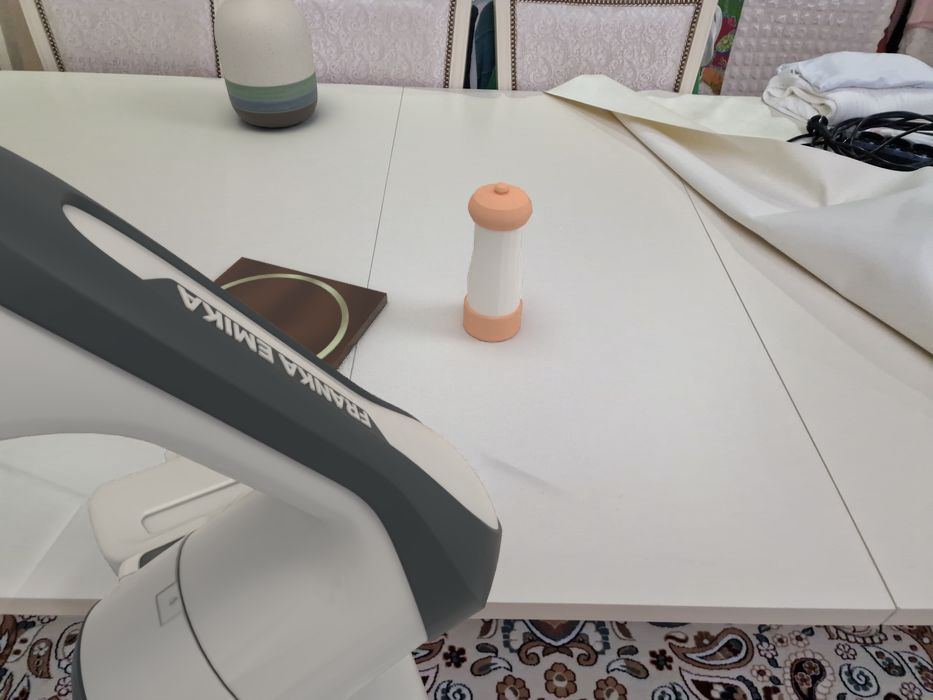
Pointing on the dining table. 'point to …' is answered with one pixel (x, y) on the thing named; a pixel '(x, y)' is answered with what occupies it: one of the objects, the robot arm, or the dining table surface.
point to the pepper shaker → (496, 262)
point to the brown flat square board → (306, 305)
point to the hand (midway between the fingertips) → (232, 405)
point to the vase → (267, 61)
